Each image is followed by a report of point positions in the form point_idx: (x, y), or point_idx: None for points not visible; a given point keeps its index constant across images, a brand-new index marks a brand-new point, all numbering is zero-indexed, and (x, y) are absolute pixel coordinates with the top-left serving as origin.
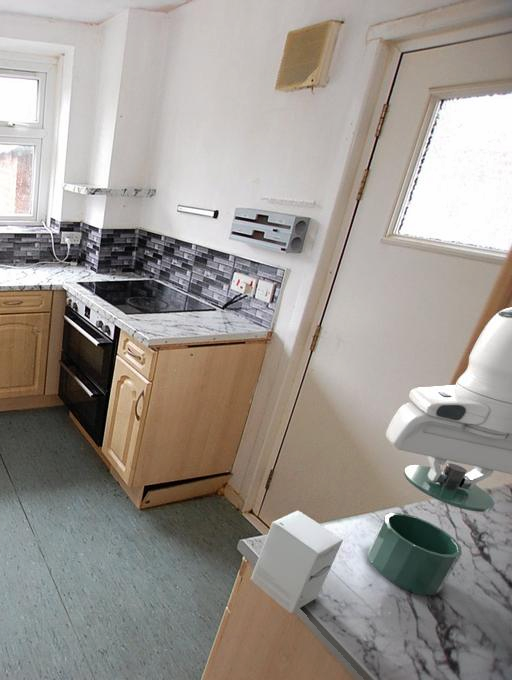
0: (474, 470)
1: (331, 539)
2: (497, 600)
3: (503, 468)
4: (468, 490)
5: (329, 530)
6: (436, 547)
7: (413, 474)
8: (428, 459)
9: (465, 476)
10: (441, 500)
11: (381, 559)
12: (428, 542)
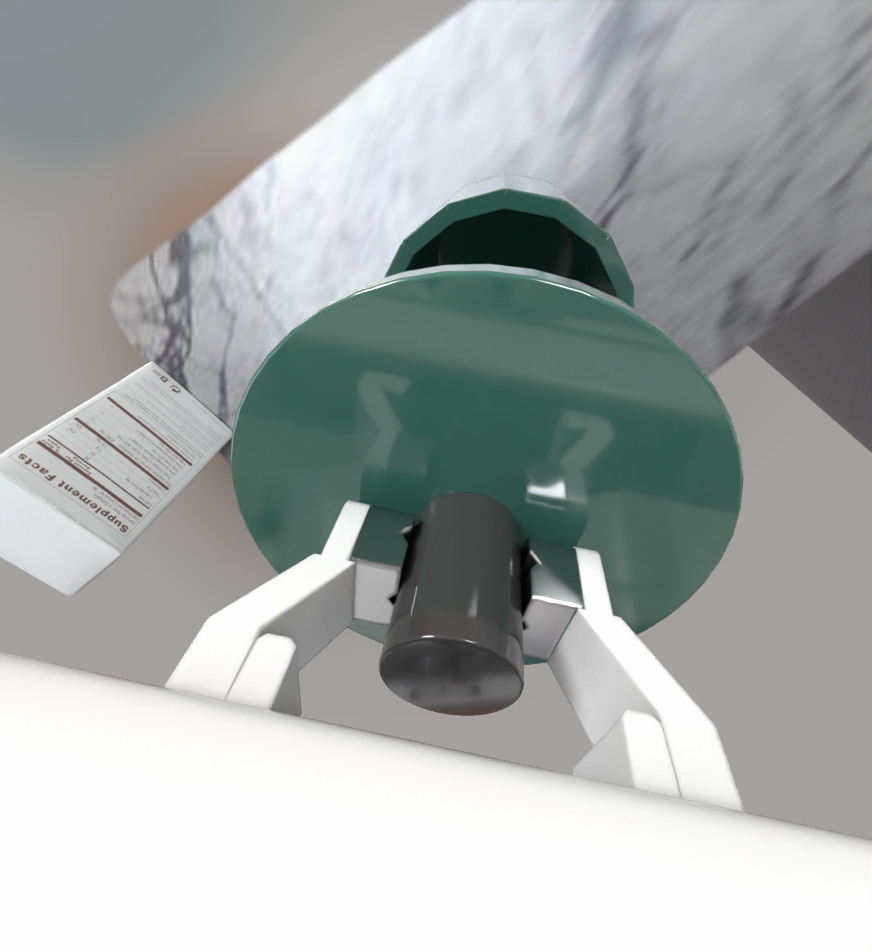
0: (621, 688)
1: (91, 561)
2: (731, 344)
3: None
4: None
5: (85, 531)
6: (602, 288)
7: (281, 454)
8: (240, 604)
9: (548, 626)
10: None
11: None
12: (595, 258)
